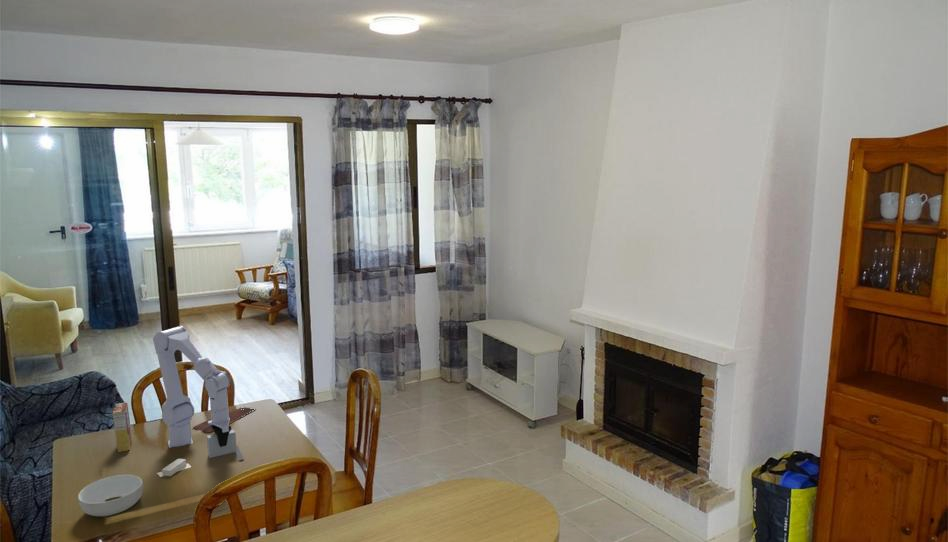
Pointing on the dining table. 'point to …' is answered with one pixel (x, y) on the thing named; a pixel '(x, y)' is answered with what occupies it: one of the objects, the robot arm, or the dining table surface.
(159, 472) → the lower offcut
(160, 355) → the robot arm
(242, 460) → the grey mat
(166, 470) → the upper offcut
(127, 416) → the candy box
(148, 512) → the dining table surface
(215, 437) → the pale grey rectangular block
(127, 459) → the dining table surface
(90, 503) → the cereal bowl
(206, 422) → the wooden tablet
